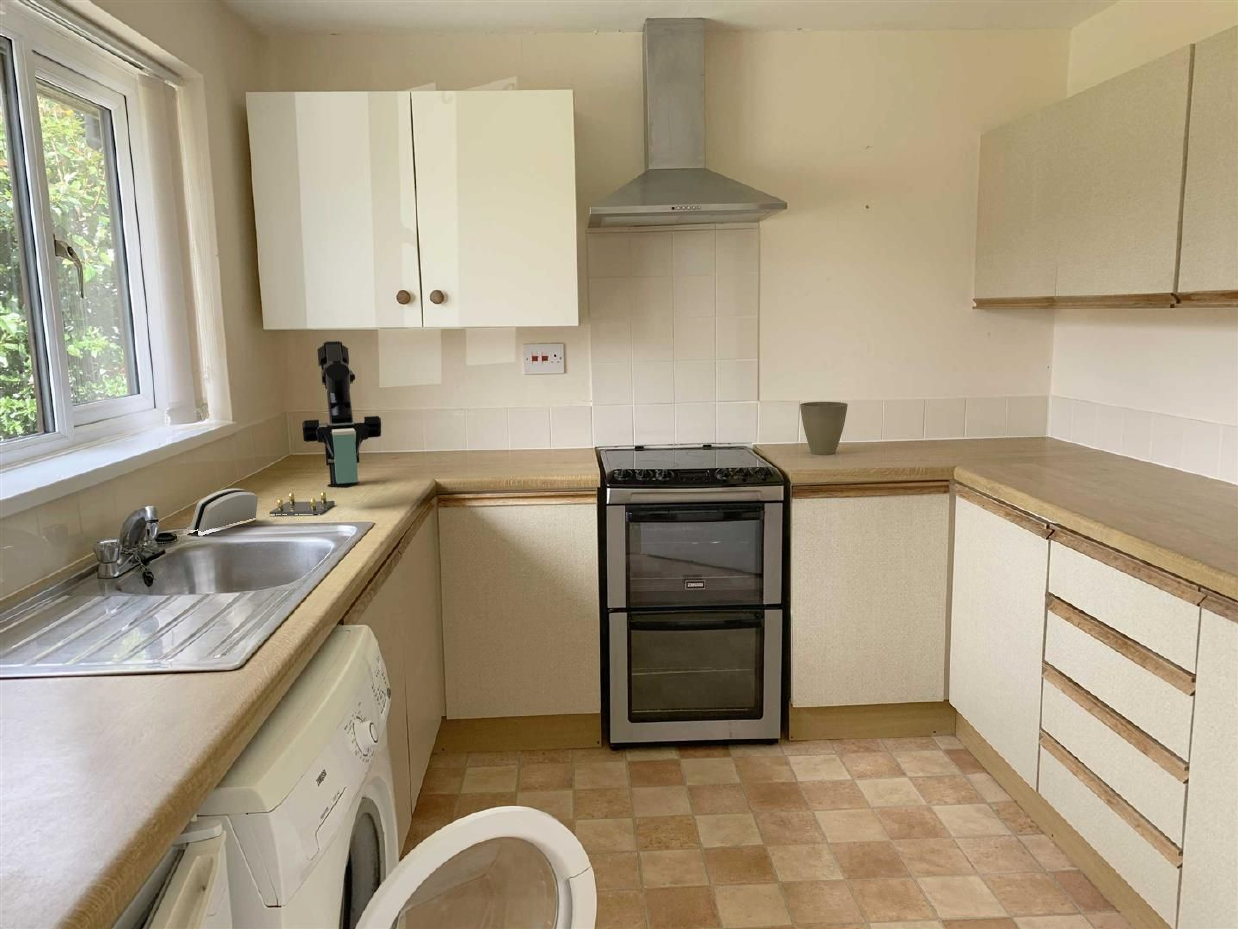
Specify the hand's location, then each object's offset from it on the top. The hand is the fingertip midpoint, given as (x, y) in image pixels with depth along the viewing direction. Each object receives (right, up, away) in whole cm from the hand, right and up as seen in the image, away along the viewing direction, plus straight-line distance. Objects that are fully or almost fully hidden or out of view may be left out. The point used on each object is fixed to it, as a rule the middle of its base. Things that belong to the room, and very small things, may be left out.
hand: (345, 455), depth 225 cm
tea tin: (0, -6, +2) cm, 7 cm away
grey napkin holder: (-23, -17, -15) cm, 32 cm away
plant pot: (+133, +1, +71) cm, 150 cm away
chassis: (-11, -14, +2) cm, 18 cm away
